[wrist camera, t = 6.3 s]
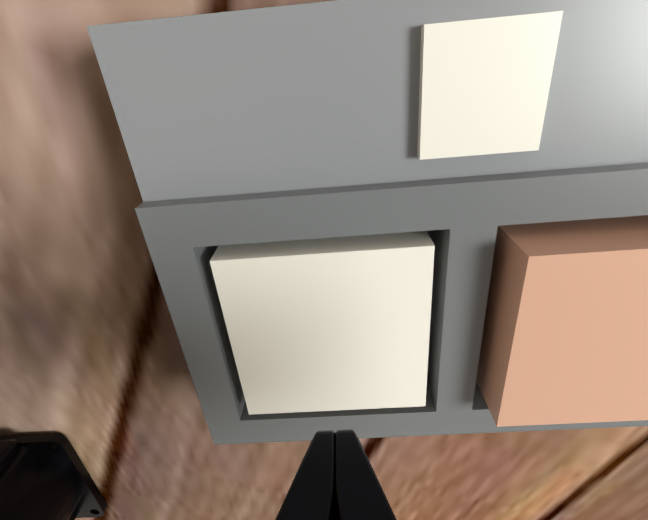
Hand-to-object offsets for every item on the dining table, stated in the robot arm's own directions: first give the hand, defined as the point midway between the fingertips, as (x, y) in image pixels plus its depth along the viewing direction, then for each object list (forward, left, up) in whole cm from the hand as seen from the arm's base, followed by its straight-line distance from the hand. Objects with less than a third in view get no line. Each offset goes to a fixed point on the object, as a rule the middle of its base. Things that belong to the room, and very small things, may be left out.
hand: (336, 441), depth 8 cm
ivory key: (0, 0, -6) cm, 6 cm away
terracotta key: (0, -8, -5) cm, 9 cm away
